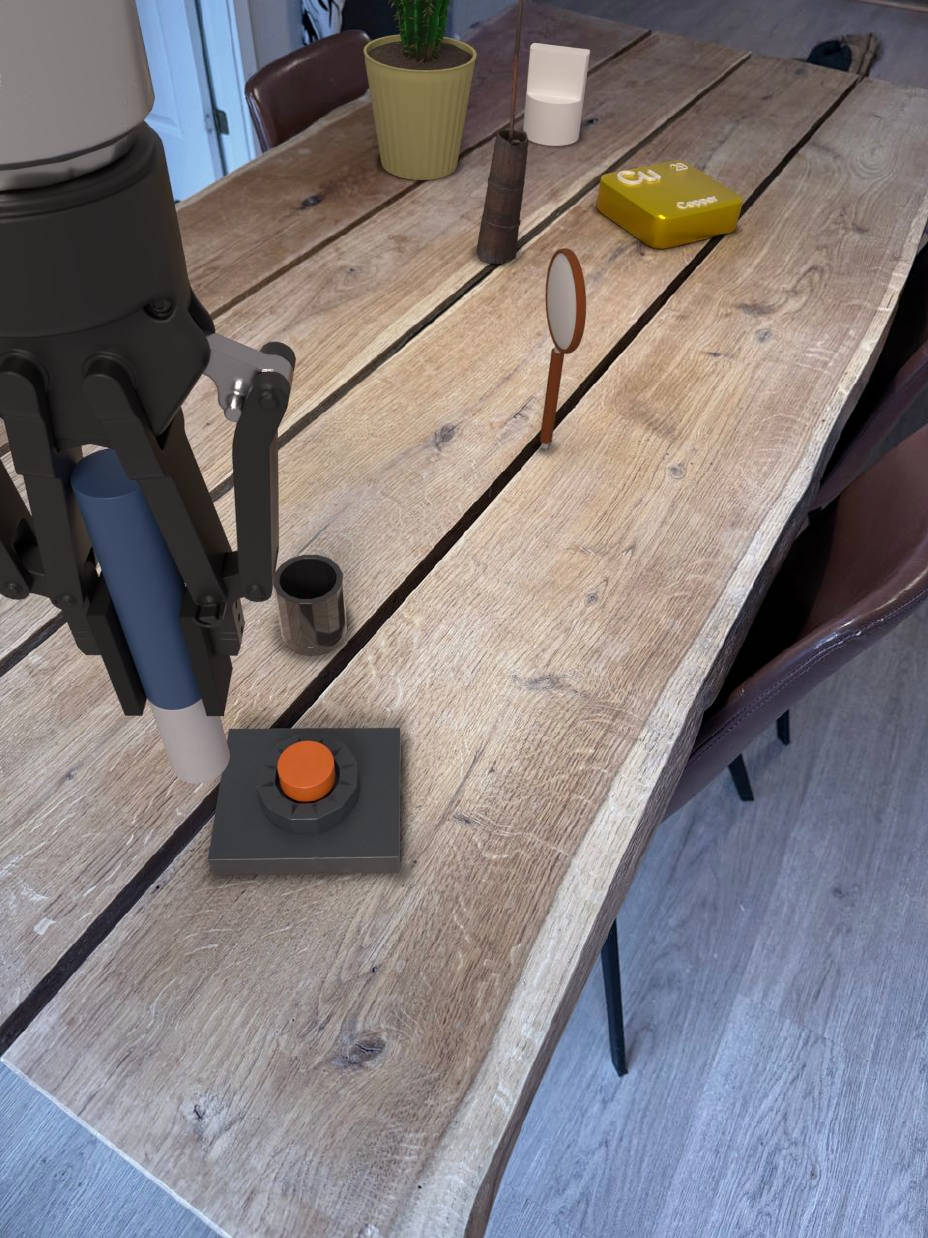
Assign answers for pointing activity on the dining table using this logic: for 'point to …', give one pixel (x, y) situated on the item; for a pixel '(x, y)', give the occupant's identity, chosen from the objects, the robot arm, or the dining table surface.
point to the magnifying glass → (562, 326)
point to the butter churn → (505, 184)
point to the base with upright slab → (555, 94)
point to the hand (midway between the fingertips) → (179, 690)
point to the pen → (149, 612)
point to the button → (306, 771)
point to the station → (309, 806)
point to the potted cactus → (419, 91)
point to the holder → (311, 604)
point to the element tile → (668, 204)
